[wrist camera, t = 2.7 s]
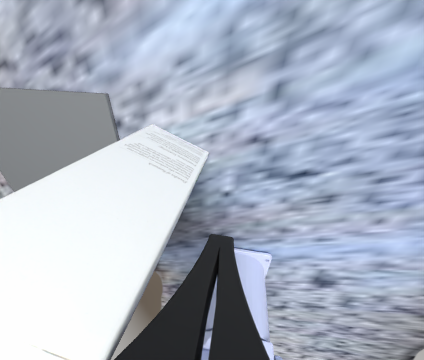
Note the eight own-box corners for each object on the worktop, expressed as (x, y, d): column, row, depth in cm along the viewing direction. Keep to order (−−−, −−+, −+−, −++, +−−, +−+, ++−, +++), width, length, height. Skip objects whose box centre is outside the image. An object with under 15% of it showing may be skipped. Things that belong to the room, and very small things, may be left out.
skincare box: (183, 206, 22) (89, 409, 9) (132, 182, 21) (-51, 364, 8) (212, 148, 17) (107, 391, 4) (148, 116, 17) (-200, 286, 4)
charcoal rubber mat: (137, 211, 24) (135, 213, 23) (20, 194, 26) (17, 196, 26) (107, 93, 16) (104, 94, 16) (-54, 84, 18) (-59, 84, 18)
